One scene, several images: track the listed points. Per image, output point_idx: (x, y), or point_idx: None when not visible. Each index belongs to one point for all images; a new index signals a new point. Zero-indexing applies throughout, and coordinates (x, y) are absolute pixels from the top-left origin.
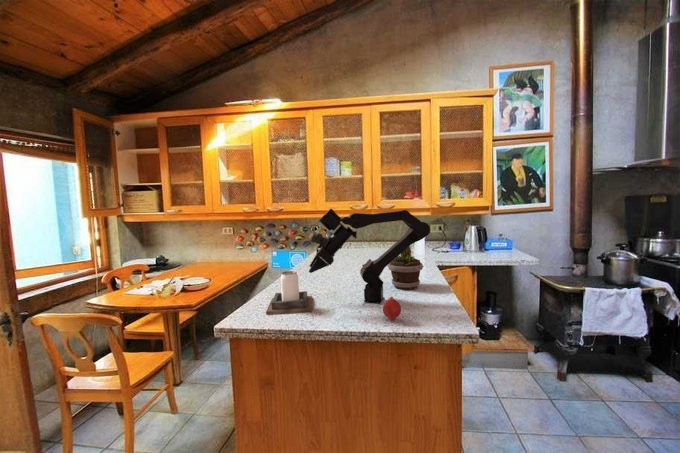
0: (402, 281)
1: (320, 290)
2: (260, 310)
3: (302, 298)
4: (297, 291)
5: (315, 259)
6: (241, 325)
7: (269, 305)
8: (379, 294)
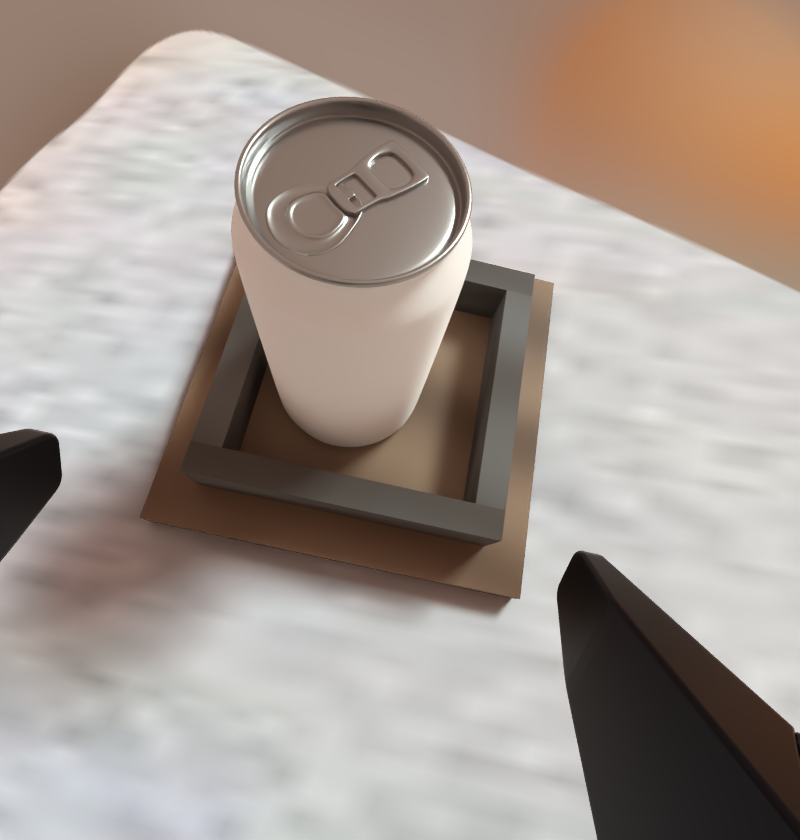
0: None
1: None
2: None
3: (463, 497)
4: (290, 388)
5: (686, 770)
6: (139, 99)
7: None
8: None
